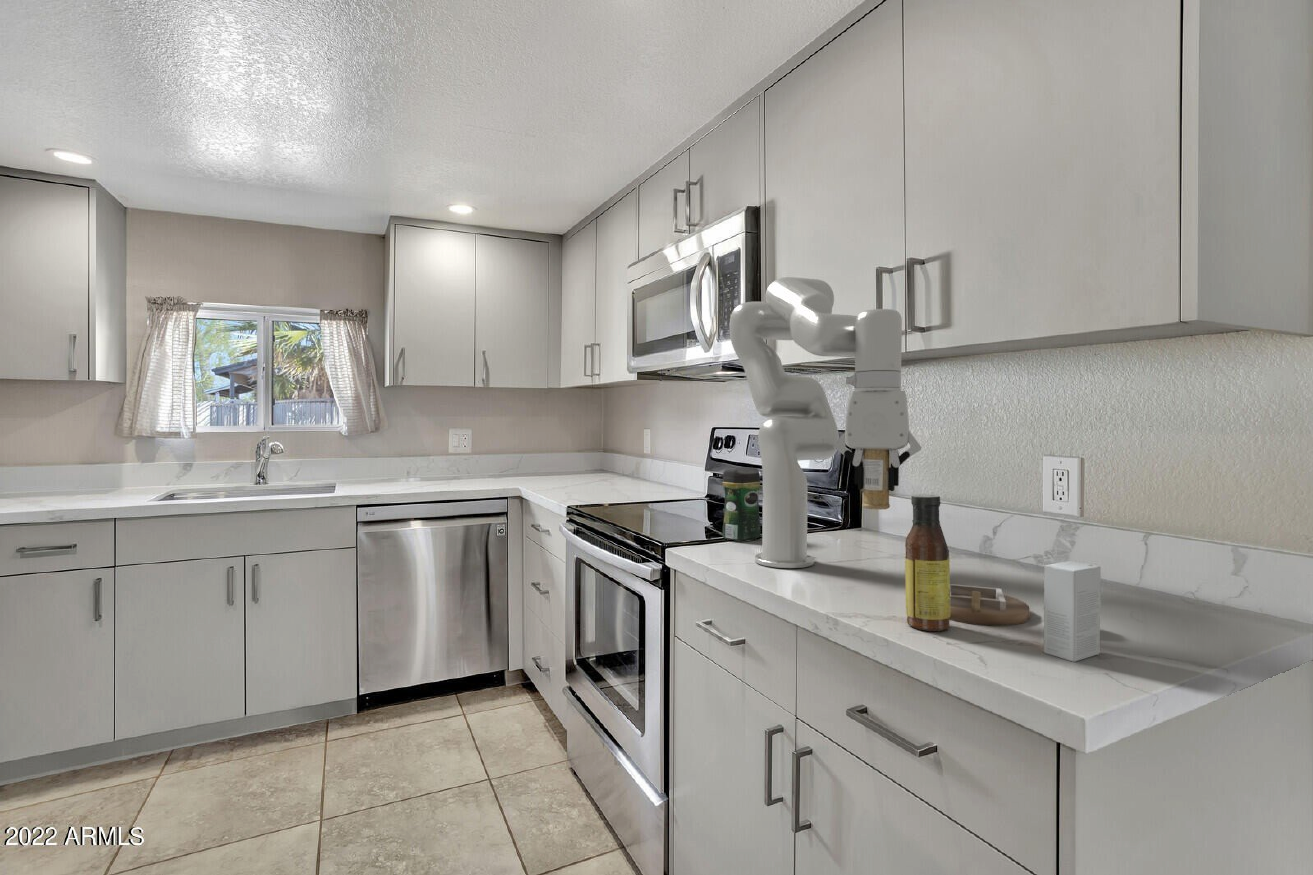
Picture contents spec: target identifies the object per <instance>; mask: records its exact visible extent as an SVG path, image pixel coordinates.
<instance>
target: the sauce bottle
mask: <svg viewBox="0 0 1313 875" xmlns="http://www.w3.org/2000/svg"><path fill="white" fill-rule="evenodd" d="M910 500H911V502H910V503H911V505H912V526H911V528H910V531H909V533H908V534H907V536H906V537H905V543H904V544H905V545H904V546H905V556H904V565H905V566H904V568H905V569H904V572H905V573H904V574H905V575H904V576H905V580H904V581H905V613H906V614H905V615H906V616H907V617H906V622H907V624H908V625H909V626H910V627H913V628H915V629H917V630H921V631H925V632H927V631H928V632H941V631H945V630H946V631H947V629H949V628H950V621H951V620H950V584H951V578H950V577H951V575H950V572H951V568H950V550H949V547H948V544H947V541H946V539H945V535H944V532H943V529H942V526H941V522H940V506H941V504H942V503H941V496H940V495H938V494H924V493H922V494H921V493H920V494H912V495H911V498H910Z"/></svg>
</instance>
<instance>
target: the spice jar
mask: <svg viewBox="0 0 1313 875" xmlns="http://www.w3.org/2000/svg"><path fill="white" fill-rule="evenodd" d="M862 462H863V489H862V492H863V493H862V494H863V496H862V500H863V501H862V505H861V506H862V507H863V508H864V509H869V510H887V509H890V507H891V505H890V490H889V468H890V452H889V449H864V455H863V459H862Z"/></svg>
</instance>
